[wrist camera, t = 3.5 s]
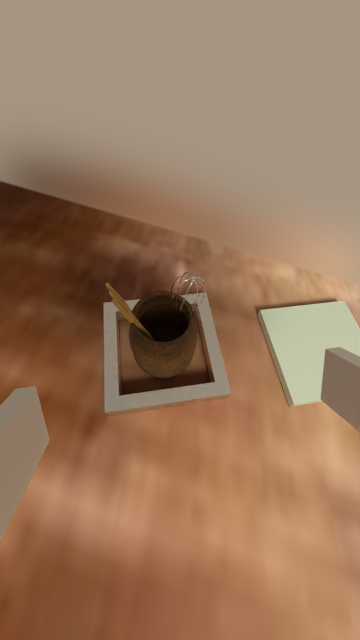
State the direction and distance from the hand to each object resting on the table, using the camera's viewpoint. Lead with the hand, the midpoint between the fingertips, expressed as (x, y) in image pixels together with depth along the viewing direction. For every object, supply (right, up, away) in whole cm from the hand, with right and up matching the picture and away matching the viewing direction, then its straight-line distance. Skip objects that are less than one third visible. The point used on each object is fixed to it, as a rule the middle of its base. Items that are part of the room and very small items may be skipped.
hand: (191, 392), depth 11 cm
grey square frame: (-2, 0, +14) cm, 14 cm away
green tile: (+14, 0, +15) cm, 20 cm away
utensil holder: (-2, 0, +14) cm, 14 cm away
